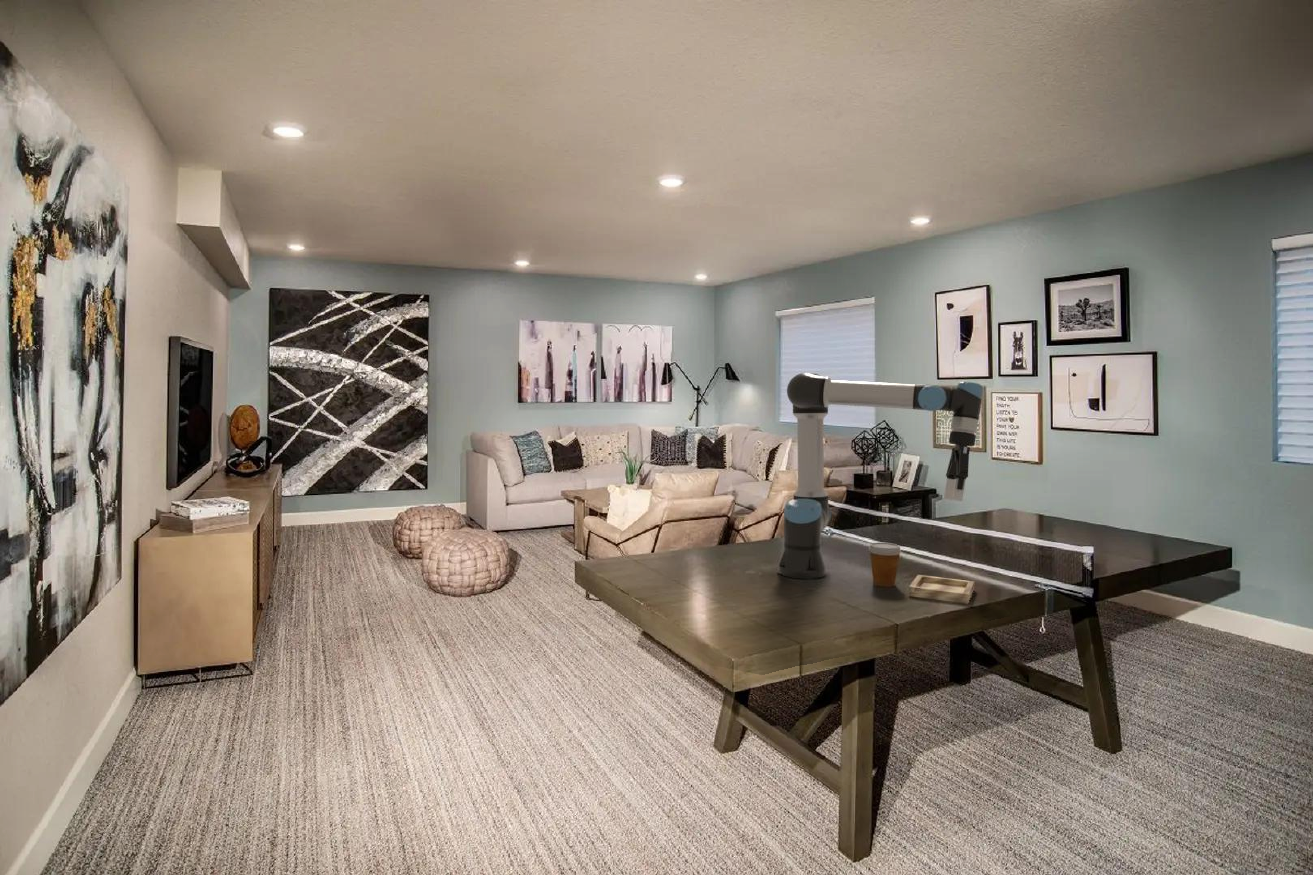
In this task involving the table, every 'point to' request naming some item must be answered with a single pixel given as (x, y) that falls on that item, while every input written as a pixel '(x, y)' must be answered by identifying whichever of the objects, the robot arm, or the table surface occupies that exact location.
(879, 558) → the disposable coffee cup
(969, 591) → the tray
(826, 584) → the table surface
